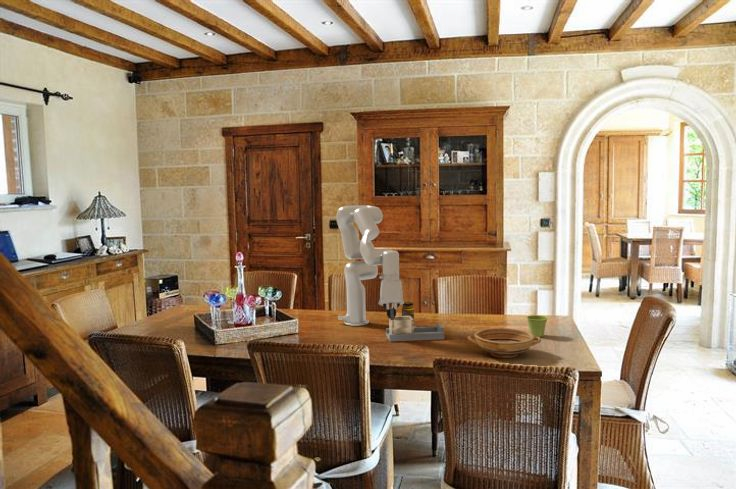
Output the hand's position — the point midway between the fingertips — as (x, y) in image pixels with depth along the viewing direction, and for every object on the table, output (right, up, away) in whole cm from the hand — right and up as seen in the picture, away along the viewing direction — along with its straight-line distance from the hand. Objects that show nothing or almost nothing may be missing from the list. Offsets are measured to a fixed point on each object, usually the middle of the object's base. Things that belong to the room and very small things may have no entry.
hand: (391, 317), depth 265 cm
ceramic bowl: (+45, -12, -27) cm, 54 cm away
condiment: (+8, -8, +22) cm, 25 cm away
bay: (+11, -9, +2) cm, 14 cm away
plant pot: (+67, -9, 0) cm, 67 cm away
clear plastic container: (+5, -8, +1) cm, 10 cm away
